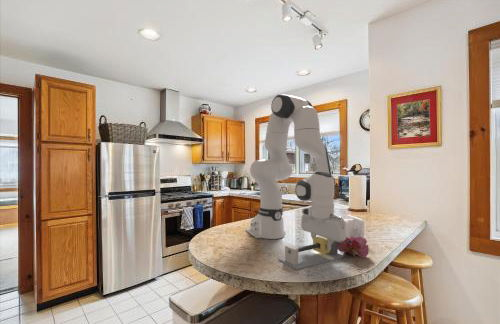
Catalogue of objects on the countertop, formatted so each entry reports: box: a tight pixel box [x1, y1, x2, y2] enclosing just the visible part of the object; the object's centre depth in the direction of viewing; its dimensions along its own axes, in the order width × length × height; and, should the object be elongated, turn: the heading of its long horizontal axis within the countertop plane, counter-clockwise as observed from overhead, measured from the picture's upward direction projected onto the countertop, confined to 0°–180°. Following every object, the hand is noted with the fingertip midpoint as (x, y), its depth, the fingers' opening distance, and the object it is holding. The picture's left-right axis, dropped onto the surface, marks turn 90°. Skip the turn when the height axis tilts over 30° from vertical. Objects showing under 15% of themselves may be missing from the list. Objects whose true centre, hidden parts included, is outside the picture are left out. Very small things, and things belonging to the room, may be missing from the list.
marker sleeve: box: [312, 235, 330, 254], centre depth 97 cm, size 5×4×5 cm
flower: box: [338, 236, 370, 262], centre depth 98 cm, size 11×10×10 cm
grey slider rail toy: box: [278, 237, 345, 271], centre depth 94 cm, size 10×25×7 cm, turn 122°
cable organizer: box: [341, 214, 365, 238], centre depth 117 cm, size 15×11×12 cm
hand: (321, 246), depth 97 cm, fingers open, 5 cm apart
